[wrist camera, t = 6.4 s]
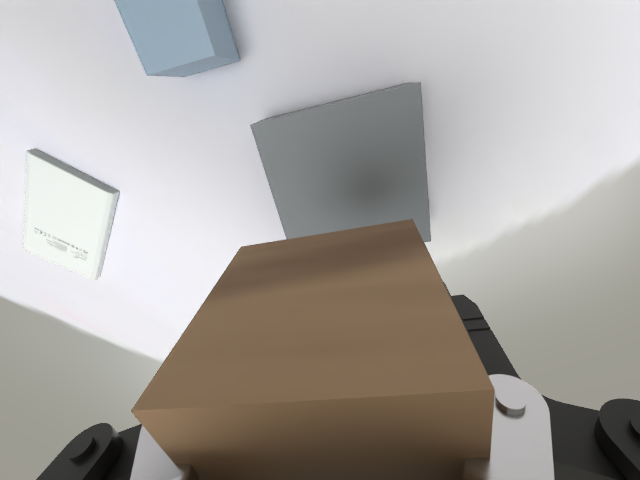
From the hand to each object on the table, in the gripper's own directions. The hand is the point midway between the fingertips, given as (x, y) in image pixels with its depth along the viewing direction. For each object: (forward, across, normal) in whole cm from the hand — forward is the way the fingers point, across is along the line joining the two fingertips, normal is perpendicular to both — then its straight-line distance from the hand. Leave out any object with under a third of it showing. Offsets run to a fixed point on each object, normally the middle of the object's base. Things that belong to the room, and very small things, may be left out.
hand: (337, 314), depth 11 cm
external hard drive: (+19, +29, -1) cm, 35 cm away
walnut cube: (+1, 0, 0) cm, 1 cm away
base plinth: (+18, 0, 0) cm, 18 cm away
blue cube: (+18, +9, -13) cm, 24 cm away
